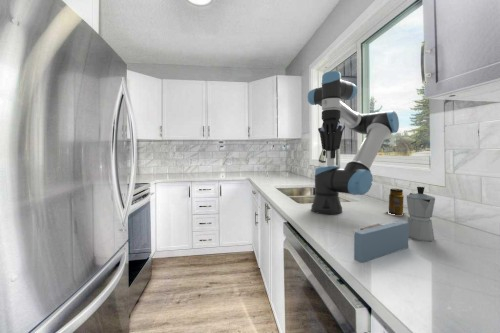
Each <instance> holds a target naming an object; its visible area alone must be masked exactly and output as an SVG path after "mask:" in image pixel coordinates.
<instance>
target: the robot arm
mask: <svg viewBox="0 0 500 333" xmlns="http://www.w3.org/2000/svg"><path fill="white" fill-rule="evenodd" d="M357 94H358V87H357V85H356V84H354V83H353V82H350V81H347V80H343V79H342V74H341V72H340V71H337V70H331V71H326V72H324V73H323V74H322V76H321V87H318V88H313V89H311V90H309V91H308V92H307V102H308V104H310V105H311V106H317V105H319V107H321V110H322V111H321V120H322V124H321V125H322V126H321V127H319V128H317V130H318V132H319V136H320V143H321V148H322V150H325V158H326V166H319V167H316V168H315V171H314V197H313V202H312V204H311V211H312V212H314V213H316V214H317V213H318V214H321V215H322V214H323V215H338V214H341V213H343V207H342V205H341V199H340V197H339V193H341V194H347V195H354V196H357V195H358V196H363V195H365V194H367V193H368V192H369V191H370V190H371V188H372V185H373V174H372V171H371V167H372V165H373V163H374V162H375V159H376V157H377V155H378V153H379V151H380V149H381V148H382V145H383V143H384V141H386V140H388V139H389V138H390V136H391V135H392V134H395V133H397V132H398V131H399V128H400V122H399V117H398V114H397V112H396V111H394V110H386V111H379V112H372V113H371V112H370V113H360V112H358V111H354V110H352V109H351V108H350V107H349V106H348V105H347V104H345V103H344V102H342V100H344V101H352V100H353V99H354V98H355V97H356V96H357ZM341 122H343V123H344V125H342V124H341ZM346 127H347V128H348V129H349V130H351V131H353V132H355V133H358V134H361V135H365V137H364V139H363V140H362V143H361V145H360V146H359V148H358V150H357V152H356V153H355V156H354V157H353V159H352V160H351V161H348V162H347V163H346V164H345V166H344V167H343V168H340V166H339V165H335V159H336V151H337V150H339V149H340V147H341V142H342V137H343V132H344V130H345V128H346Z"/></svg>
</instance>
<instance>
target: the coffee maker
mask: <svg viewBox="0 0 500 333" xmlns="http://www.w3.org/2000/svg"><path fill="white" fill-rule="evenodd" d="M416 190H417V193H411V192H410V193H409V194H407V195H406V202H407V203H406V204H407V212H408V213H407V214H408V215H409V217H407V222H409V236H408V239H410V240H413V241H418V242H428V243H429V242H430V243H431V242H433V241H435V235H434V233H435V232H434V228H433V221H432V219H431V218H432V217H433V212H434V207H435V202H436V201H435V200H436V198H435V196H432V195H430V194H429V195H428V194H426V193H424V192H425V186H416Z"/></svg>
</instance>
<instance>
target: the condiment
mask: <svg viewBox="0 0 500 333" xmlns="http://www.w3.org/2000/svg"><path fill="white" fill-rule="evenodd" d="M388 211H389V213H391V214H395V215H394V217H395V216H396V217H402V216H403V215H402V214H403V213H404V192H403V189H402V188H401V189H400V188H390V190H389V195H388ZM388 211H386V212H384V213H383V214H385V215H389V216H391V215H390V214H388Z"/></svg>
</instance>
